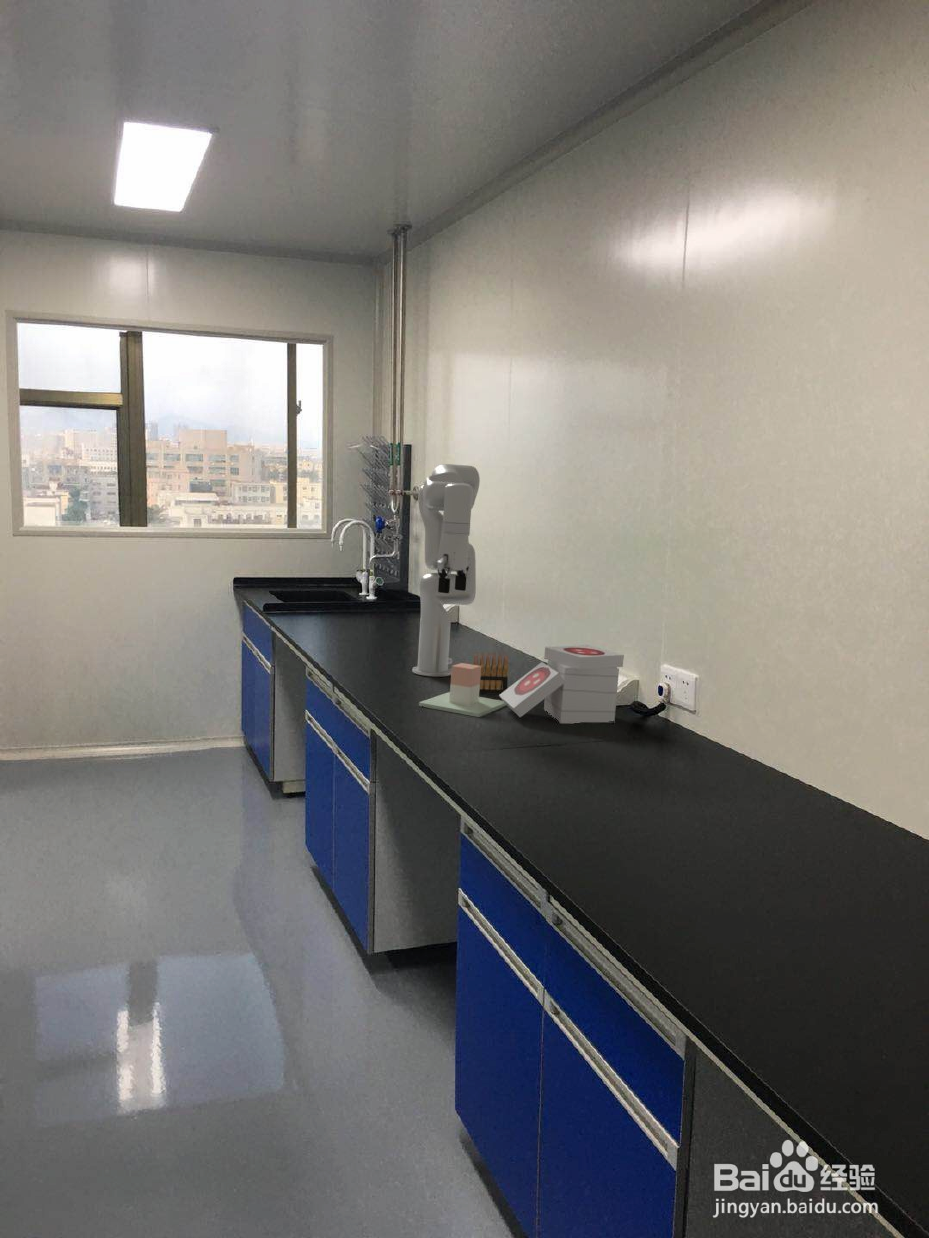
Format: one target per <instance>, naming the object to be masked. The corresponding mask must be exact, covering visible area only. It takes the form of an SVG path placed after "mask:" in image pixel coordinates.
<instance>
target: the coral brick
mask: <svg viewBox="0 0 929 1238" xmlns="http://www.w3.org/2000/svg"><path fill="white" fill-rule="evenodd" d="M480 678H481V666H479V664H478V665H474V664H471V663H464V662H460V663H457V664H454V665H451V675H450V684H453V685H459V686H465V687H473V686H476V685H479V684H480Z"/></svg>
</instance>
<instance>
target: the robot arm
mask: <svg viewBox="0 0 929 1238" xmlns="http://www.w3.org/2000/svg"><path fill="white" fill-rule="evenodd" d="M480 479H481V478H480V474H479V471H478V469H477V468H476V467H475V466H473V465H467V464H466V465H463V464H453V463H452V464H451V463H450V464H449V463H444V464H440V465H438V466H436V467H435V468H434V469H433V471H432V472H431V475H429V476H428V477H427V478H426V479H425V480H424V482H423V485H422V486H421V487H420V488H419V491H418V499H417V500H418V501H417V502H418V509H419V513H420V517H421V520H422V522H423V527H424V563H425V566H426V567H427V569H429V570H431V571H437V572H430V573H426V574H423V576H422V577H420V580H419V596H420V597H419V598H420V600H419V601H420V619H419V620H420V621H419V635H418V636H419V637H418V651H417V652H418V653H417V654H418V655H417V666H413V667H412V673H413V674H415V675H418V676H425V677H432V678H433V677H435V678H436V677H438V678H439V677H449V676H451V670H452V668H450V667H449V665H450V664H453V659H452V658H451V657H449V653H450V641H451V640H450V638H451V637H450V636H451V622H452V621H451V616H450V614H449V612H448V611H447V609H446V608H445V605H456V606H457V605H458V606H460V605H461V606H469V605H470V604H472V603H473V602H474V601H475V598H476V590H477V589H476V588H477V585H476V584H477V583H476V580H477V579H476V577H477V575H476V574H477V573H476V571H477V570H476V569H477V568H476V566H477V565H476V552H475V551H476V550H475V548H474V546H473V545H472V544H471V543H470V542H469V536H470V531H471V516H472V509H473V508H474V505H475V502H476V498H477V496H478V492H479V489H480V482H481V480H480ZM441 511H442V513H443V514H442V513H441ZM452 572H455V573H452Z"/></svg>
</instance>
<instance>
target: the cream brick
mask: <svg viewBox="0 0 929 1238" xmlns="http://www.w3.org/2000/svg"><path fill="white" fill-rule="evenodd" d="M479 689H480V684H479V685H476V686H473V687H465V686H459V685H453V684H451V683H450V687H449V690H450V691H449V692H450V699H449V702H451V703H457V704H463V705H468V706H470V705H472V704H475V703H477V702H479V697H480V693H479Z"/></svg>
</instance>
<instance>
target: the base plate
mask: <svg viewBox="0 0 929 1238" xmlns="http://www.w3.org/2000/svg"><path fill="white" fill-rule="evenodd" d="M449 699H450V691H448V692H445V693H442V694H439V695H436V696H433V697H431V698H428V699H425V700H422V701H419V702H418V707H422V706H423V707H424V708H428V709H432V710H437V711H444V712H449V713H455V714H461V715H466V716H470V717H471V716H472V717H476V718H480V717H482V716H485V715H488V714H490V713H492V711H493V712H496V711H497V710H499V709H502V708H504V707H508V706H507V705H506V704H505V703H504V701H503V700H502V699H501V700H500V699H493V698H489V697H483V696H479V702H477V703H475V704H472V705H470V706H468V705H463V704H457V703H451V702H449ZM423 707H422V708H423Z"/></svg>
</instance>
